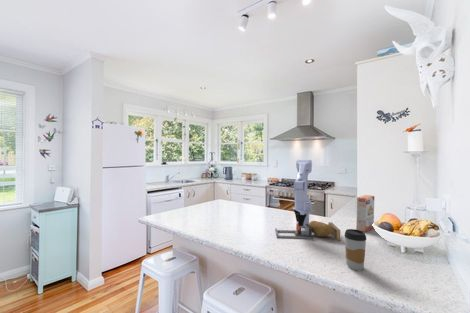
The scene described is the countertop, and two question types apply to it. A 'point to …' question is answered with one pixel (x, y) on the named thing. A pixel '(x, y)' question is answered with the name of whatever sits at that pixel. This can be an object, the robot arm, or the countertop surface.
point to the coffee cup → (355, 248)
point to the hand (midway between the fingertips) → (299, 223)
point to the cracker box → (365, 213)
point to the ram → (303, 233)
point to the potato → (321, 228)
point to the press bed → (335, 235)
